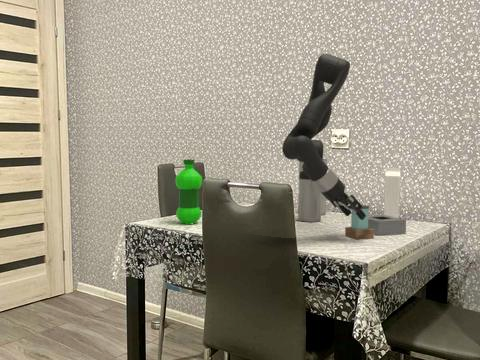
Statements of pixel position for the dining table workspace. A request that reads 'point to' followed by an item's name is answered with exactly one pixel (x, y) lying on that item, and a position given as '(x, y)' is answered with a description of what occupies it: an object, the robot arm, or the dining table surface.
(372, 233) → the brown wooden square frame
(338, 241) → the dining table surface
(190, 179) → the plastic bottle
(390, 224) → the port
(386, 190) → the milk
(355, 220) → the plug
